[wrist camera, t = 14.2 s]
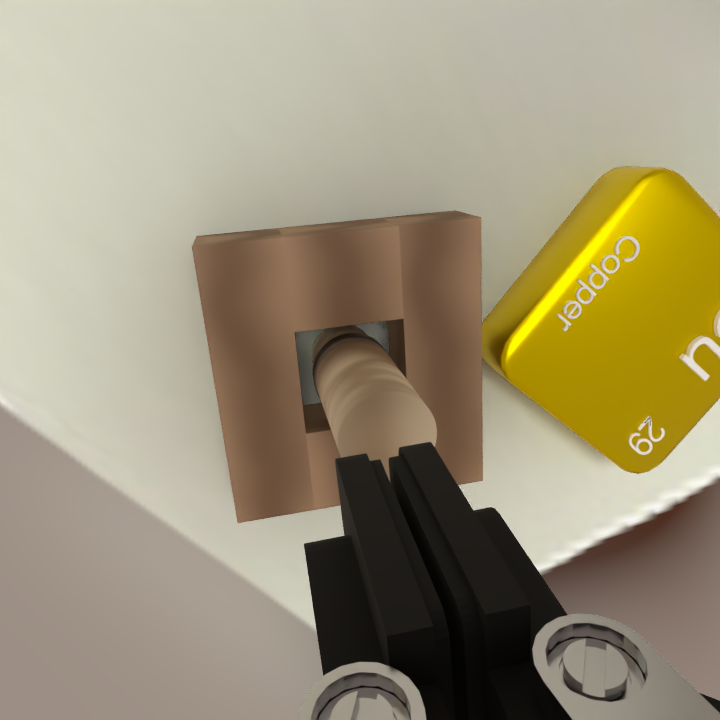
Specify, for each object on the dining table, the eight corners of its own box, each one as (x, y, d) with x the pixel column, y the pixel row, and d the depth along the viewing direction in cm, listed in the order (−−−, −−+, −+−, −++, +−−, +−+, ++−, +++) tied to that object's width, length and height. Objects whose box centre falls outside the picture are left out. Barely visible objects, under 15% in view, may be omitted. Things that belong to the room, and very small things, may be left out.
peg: (375, 314, 37) (436, 383, 26) (380, 382, 39) (439, 476, 28) (302, 323, 36) (332, 399, 25) (310, 392, 38) (341, 492, 27)
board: (455, 210, 36) (481, 217, 32) (460, 451, 41) (482, 480, 38) (196, 236, 34) (192, 246, 30) (237, 487, 39) (237, 522, 35)
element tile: (616, 151, 37) (668, 151, 33) (750, 293, 43) (811, 309, 38) (461, 343, 39) (490, 368, 35) (607, 456, 45) (648, 490, 40)
